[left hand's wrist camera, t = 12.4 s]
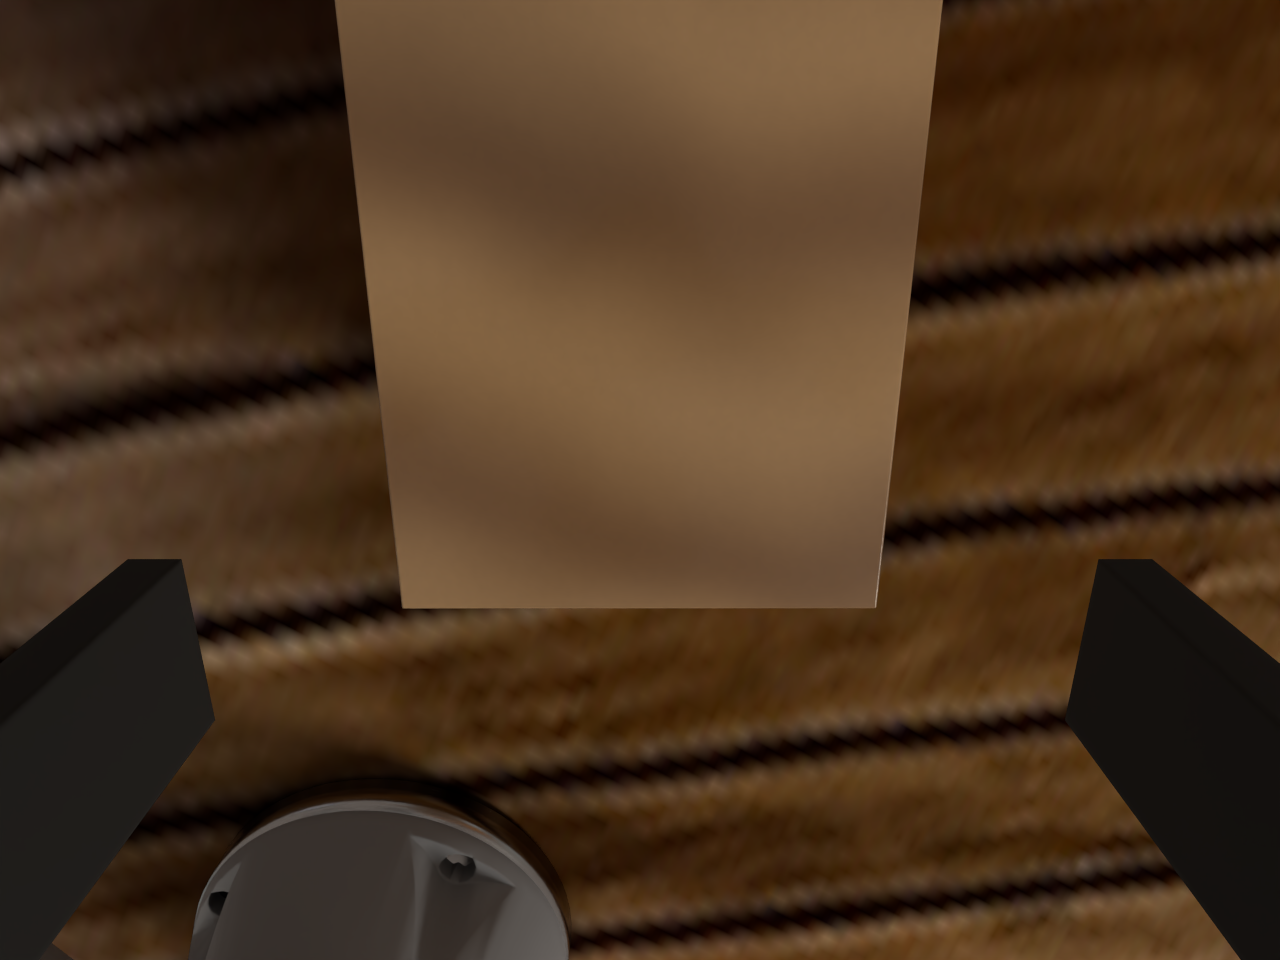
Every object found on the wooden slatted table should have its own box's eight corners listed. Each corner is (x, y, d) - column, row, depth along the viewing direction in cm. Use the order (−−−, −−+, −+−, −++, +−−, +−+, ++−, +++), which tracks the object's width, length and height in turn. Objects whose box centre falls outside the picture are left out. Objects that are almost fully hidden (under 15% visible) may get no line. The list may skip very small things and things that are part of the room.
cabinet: (434, -211, 23) (280, -478, 13) (842, -212, 23) (995, -477, 13) (481, 453, 30) (401, 609, 20) (797, 453, 30) (876, 609, 20)
